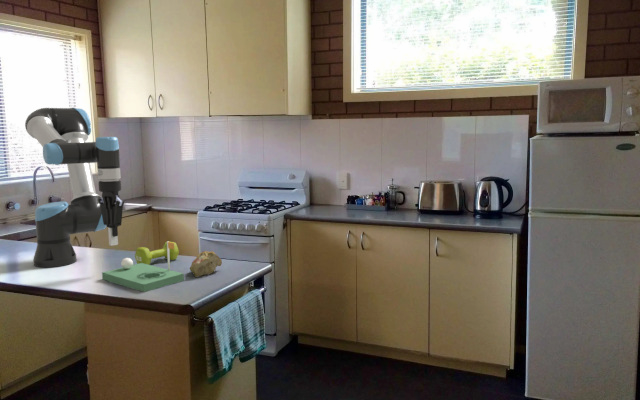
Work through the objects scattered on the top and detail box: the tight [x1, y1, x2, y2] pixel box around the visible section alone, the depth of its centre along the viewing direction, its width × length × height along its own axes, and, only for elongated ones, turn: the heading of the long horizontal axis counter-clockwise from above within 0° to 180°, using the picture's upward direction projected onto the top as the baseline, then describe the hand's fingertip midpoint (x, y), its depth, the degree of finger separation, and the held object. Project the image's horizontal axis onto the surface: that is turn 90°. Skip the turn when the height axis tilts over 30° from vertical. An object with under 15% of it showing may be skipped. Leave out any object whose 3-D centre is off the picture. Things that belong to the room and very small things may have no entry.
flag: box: [166, 240, 174, 271], centre depth 191 cm, size 4×1×13 cm, turn 53°
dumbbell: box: [134, 241, 180, 265], centre depth 213 cm, size 16×8×7 cm, turn 141°
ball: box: [120, 257, 134, 269], centre depth 194 cm, size 4×4×4 cm
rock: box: [189, 250, 223, 278], centre depth 198 cm, size 12×9×10 cm
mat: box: [101, 263, 185, 293], centre depth 189 cm, size 24×16×2 cm, turn 53°
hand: (113, 244), depth 198 cm, fingers closed
